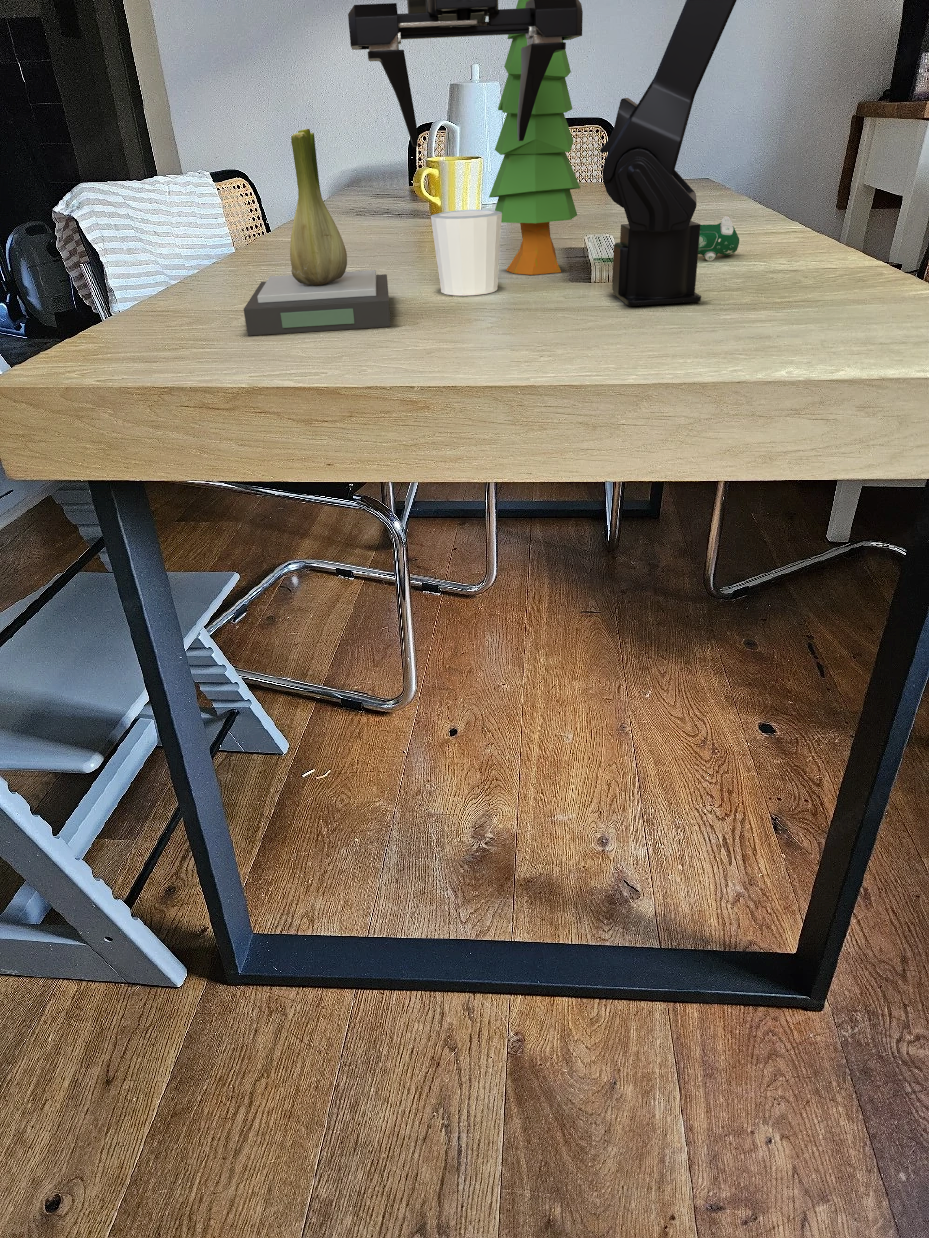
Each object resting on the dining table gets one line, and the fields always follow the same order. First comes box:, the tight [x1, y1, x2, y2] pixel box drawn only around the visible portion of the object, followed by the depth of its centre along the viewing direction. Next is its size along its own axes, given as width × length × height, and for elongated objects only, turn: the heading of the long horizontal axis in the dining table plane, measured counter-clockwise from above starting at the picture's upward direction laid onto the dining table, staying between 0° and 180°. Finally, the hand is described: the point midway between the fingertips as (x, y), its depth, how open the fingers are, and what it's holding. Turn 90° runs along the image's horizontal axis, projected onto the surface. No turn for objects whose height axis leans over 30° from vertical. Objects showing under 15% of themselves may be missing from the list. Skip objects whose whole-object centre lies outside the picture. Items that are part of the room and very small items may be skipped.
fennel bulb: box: [289, 128, 348, 286], centre depth 76 cm, size 6×5×12 cm
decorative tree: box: [488, 0, 581, 276], centre depth 89 cm, size 10×9×30 cm
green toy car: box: [698, 215, 740, 262], centre depth 97 cm, size 9×4×6 cm
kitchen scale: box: [243, 269, 392, 337], centre depth 79 cm, size 12×13×3 cm
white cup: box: [430, 209, 502, 297], centre depth 86 cm, size 7×7×7 cm
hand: (468, 143), depth 77 cm, fingers open, 9 cm apart
